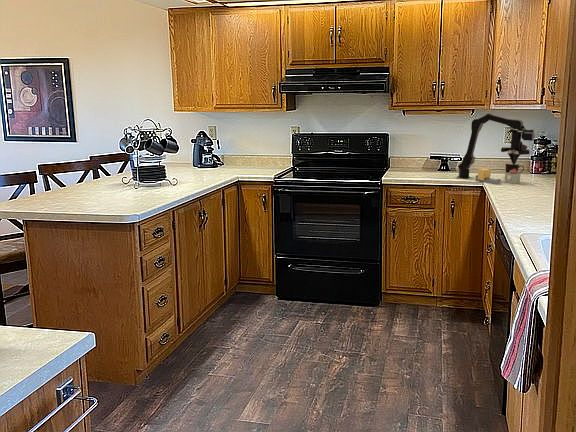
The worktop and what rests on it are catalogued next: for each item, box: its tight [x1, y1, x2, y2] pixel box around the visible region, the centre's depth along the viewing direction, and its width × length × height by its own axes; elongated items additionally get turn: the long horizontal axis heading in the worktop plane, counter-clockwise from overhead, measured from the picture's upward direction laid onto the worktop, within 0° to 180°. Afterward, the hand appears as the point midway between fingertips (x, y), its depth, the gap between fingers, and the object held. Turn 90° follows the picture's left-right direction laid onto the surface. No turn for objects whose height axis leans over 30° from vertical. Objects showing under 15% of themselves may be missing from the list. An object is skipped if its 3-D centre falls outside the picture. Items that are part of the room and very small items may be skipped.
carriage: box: [477, 168, 492, 180], centre depth 383 cm, size 5×6×6 cm
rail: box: [475, 174, 502, 185], centre depth 380 cm, size 19×3×3 cm, turn 26°
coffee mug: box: [505, 162, 525, 174], centre depth 396 cm, size 12×9×10 cm
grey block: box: [504, 172, 521, 184], centre depth 380 cm, size 7×6×6 cm
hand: (513, 164), depth 378 cm, fingers closed
